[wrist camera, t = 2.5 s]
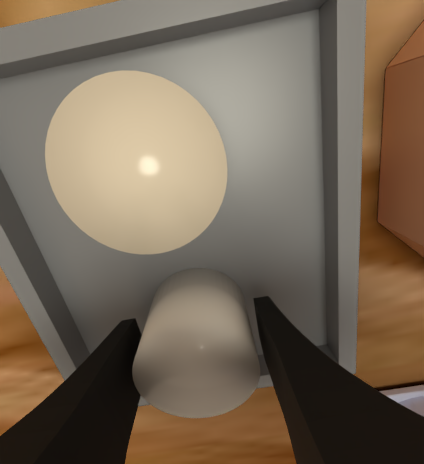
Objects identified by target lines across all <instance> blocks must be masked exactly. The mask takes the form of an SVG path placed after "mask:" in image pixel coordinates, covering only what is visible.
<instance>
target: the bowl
mask: <svg viewBox="0 0 424 464" xmlns="http://www.w3.org/2000/svg"><path fill="white" fill-rule="evenodd" d="M386 68H387V69H386V72H385V91H384V109H383V127H382V145H381V163H380V182H379V200H378V218H377V221H378V222H379V223H380V224H381V225H382V226H384V227H385V228H386V229H388V230H389V231H390V232H391V233H393V234H394V235H395V236H397V237H398V238H399V239H401V240H402V241H403V242H404V243H406V244H407V245H408V246H410V247H411V248H412V249H413V250H415V251H416V252H417V253H419V254H420V255H421V256H422V257H424V21H423V22H422V23H421V25H420V26H419V27H418V28H417V30H416V31H415V32H414V33H413V35H412V36H411V37H410V39H409V40H408V41H407V42H406V44H405V45H404V46H403V47H402V49H401V50H400V51H399V52H398V54H397V55H396V56H395V57H394V59H393V60H392V61H391V62H390V64H389V65H388V66H387V67H386Z"/></svg>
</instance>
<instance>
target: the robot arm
mask: <svg viewBox="0 0 424 464" xmlns="http://www.w3.org/2000/svg"><path fill="white" fill-rule="evenodd" d="M253 300H254V306H255V313H256V319H257V326H258V332H259V338H260V342H261V346H262V351H263V355H264V359H265V362H266V365H267V368H268V371H269V374H270V377H271V380H272V382H273V385H274V388H275V391H276V394H277V397H278V400H279V403H280V406H281V409H282V412H283V414H284V418H285V421H286V424H287V428H288V432H289V435H290V439H291V443H292V447H293V451H294V455H295V459H296V463H297V464H424V385H418V386H411V387H404V388H398V389H391V390H384V391H377V390H376V389H374V388H373V387H371V386H370V385H368V384H367V383H365V382H364V381H362V380H361V379H359V378H358V377H356V376H354V375H353V374H352V373H350V372H349V371H347V370H346V369H345V368H343V367H342V366H340V365H339V364H338V363H336V362H335V361H334V360H333V359H331V358H330V357H329V356H327V355H326V354H325V353H324V352H323V351H321V350H320V349H319V348H318V347H317V346H315V345H314V344H313V343H312V342H311V341H310V340H309V339H308V338H307V337H305V336H304V335H303V334H302V333H301V332H300V331H299V330H298V329H297V328H296V327H295V326H294V325H293V324H292V323H291V322H290V321H289V320H288V319H287V317H286V316H285V315H284V314H283V313H282V312H281V311H280V310H279V308H278V307H277V306H276V305H275V303H274V302H273V301H272V299H271V298H270V297H269V296H264V297H258V298H253ZM141 337H142V335H141V332H140V329H139V327H138V324H137V321H136V318H133V319H127V320H122V321H121V322H120V323H119V324H118V325H117V326H116V327H115V328H114V329H113V330H112V331H111V332H110V334H109V335H108V336H107V337H106V338H105V339H104V340H103V341H102V342H101V344H100V345H99V346H98V347H97V348H96V349H95V350H94V351H93V352H92V353H91V354H90V356H89V357H88V358H87V359H86V360H85V361H84V362H83V363H82V364H81V365H80V366H79V367H78V368H77V369H76V370H75V371H74V372H73V373H72V374H71V375H70V376H69V377H68V378H67V379H66V380H65V381H64V382H63V383H62V384H61V385H60V386H59V387H58V388H57V389H56V390H55V391H54V392H53V393H51V394H50V395H49V396H48V397H47V398H46V399H45V400H44V401H42V402H41V403H40V404H39V405H38V406H37V407H36V408H34V409H33V410H32V411H31V412H30V413H28V414H27V415H26V416H25V417H24V418H22V419H21V420H20V421H19V422H17V423H16V424H15V425H14V426H12V427H11V428H10V429H9V430H7V431H6V432H5V433H4V434H2V435H1V436H0V464H125V459H126V453H127V448H128V443H129V439H130V435H131V431H132V427H133V423H134V419H135V416H136V412H137V408H138V404H139V400H140V397H141V395H140V393H139V392H138V390H137V388H136V386H135V384H134V381H133V376H132V367H133V363H134V359H135V356H136V353H137V349H138V346H139V343H140V340H141Z"/></svg>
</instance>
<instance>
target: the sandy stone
mask: <svg viewBox="0 0 424 464" xmlns="http://www.w3.org/2000/svg"><path fill="white" fill-rule="evenodd" d="M45 161H46V169H47V174H48V179H49V182H50V185H51V187H52V190H53V192H54V194H55V196H56V199H57V201H58V202H59V204H60V205H61V207H62V209H63V210H64V212H65V213H66V214H67V215H68V217H69V218H70V219H71V220H72V221H73V222H74V223H75V224H76V225H77V226H78V227H79V228H80V229H81V230H82V231H83V232H85V233H86V234H87V235H88V236H90V237H91V238H93V239H95V240H96V241H98V242H100V243H102V244H104V245H106V246H108V247H110V248H113V249H116V250H119V251H123V252H127V253H133V254H159V253H164V252H168V251H172V250H174V249H177V248H180V247H182V246H184V245H186V244H187V243H189V242H191V241H192V240H194V239H195V238H196V237H198V236H199V235H200V234H201V233H202V232H203V231H204V230H205V229H206V228H207V227H208V226H209V224H210V223H211V222H212V221H213V219H214V217H215V216H216V214H217V213H218V211H219V208H220V206H221V204H222V201H223V198H224V195H225V191H226V185H227V158H226V153H225V149H224V145H223V142H222V139H221V136H220V134H219V131H218V129H217V128H216V126H215V124H214V122H213V120H212V119H211V117H210V116H209V114H208V113H207V111H206V110H205V109H204V108H203V107H202V105H201V104H200V103H199V102H198V101H197V100H196V99H195V98H194V97H193V96H191V95H190V94H189V93H188V92H187V91H186V90H184V89H183V88H181V87H180V86H178V85H176V84H175V83H173V82H171V81H169V80H167V79H165V78H163V77H160V76H157V75H154V74H150V73H146V72H140V71H124V70H121V71H114V72H108V73H104V74H101V75H98V76H95V77H93V78H91V79H89V80H87V81H85V82H83V83H82V84H80V85H79V86H77V87H76V88H75V89H73V90H72V91H71V92H70V93H69V94H68V95H67V96H66V97H65V98H64V100H63V101H62V102H61V104H60V105H59V107H58V108H57V110H56V112H55V114H54V116H53V117H52V120H51V123H50V126H49V128H48V132H47V137H46V143H45Z"/></svg>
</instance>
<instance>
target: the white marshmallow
mask: <svg viewBox="0 0 424 464" xmlns="http://www.w3.org/2000/svg"><path fill="white" fill-rule="evenodd" d="M132 376H133V381H134V384H135V386H136V388H137V390H138V392H139V393H140V395H141V396H142V397H143V398H144V399H145V400H146V401H147V402H148V403H150V404H151V405H152V406H154V407H155V408H157V409H159V410H161V411H163V412H166V413H168V414H171V415H175V416H179V417H185V418H206V417H212V416H217V415H221V414H224V413H226V412H229V411H231V410H233V409H235V408H237V407H238V406H240V405H241V404H243V403H244V402H245V401H246V400H247V399H248V398H249V397H250V396H251V395H252V394H253V392H254V391H255V389H256V387H257V385H258V382H259V379H260V364H259V360H258V355H257V351H256V347H255V342H254V338H253V334H252V329H251V325H250V320H249V316H248V312H247V307H246V303H245V299H244V295H243V293H242V291H241V289H240V288H239V286H238V285H237V284H236V283H235V282H234V281H233V280H232V279H231V278H230V277H228V276H227V275H225V274H223V273H221V272H218V271H216V270H212V269H206V268H192V269H186V270H182V271H180V272H177V273H175V274H173V275H171V276H170V277H168V278H167V279H166V280H165V281H164V282H162V284H161V285H160V286H159V287H158V289H157V291H156V293H155V295H154V298H153V301H152V304H151V308H150V311H149V314H148V317H147V320H146V324H145V327H144V330H143V333H142V337H141V340H140V343H139V346H138V349H137V353H136V356H135V359H134V363H133V367H132Z"/></svg>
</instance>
